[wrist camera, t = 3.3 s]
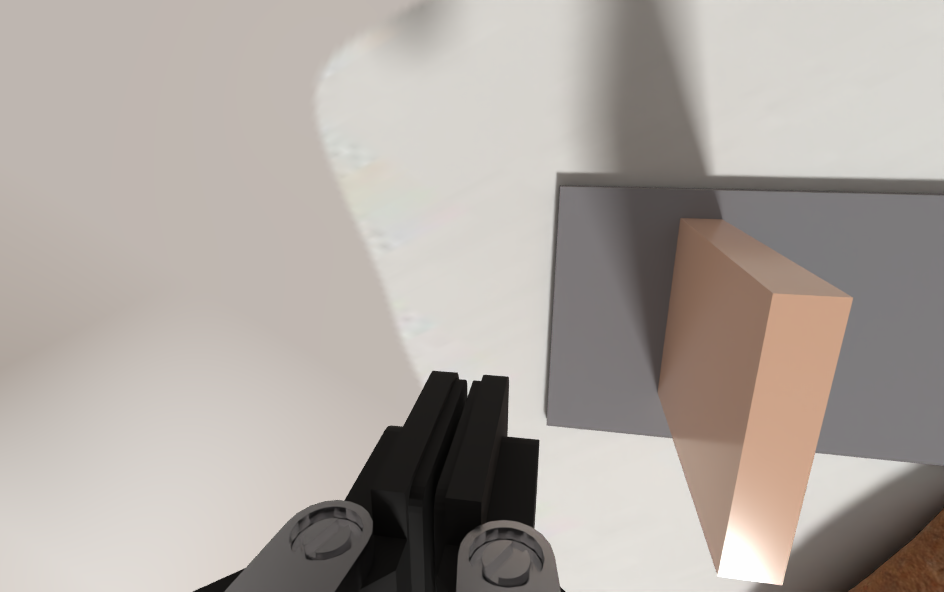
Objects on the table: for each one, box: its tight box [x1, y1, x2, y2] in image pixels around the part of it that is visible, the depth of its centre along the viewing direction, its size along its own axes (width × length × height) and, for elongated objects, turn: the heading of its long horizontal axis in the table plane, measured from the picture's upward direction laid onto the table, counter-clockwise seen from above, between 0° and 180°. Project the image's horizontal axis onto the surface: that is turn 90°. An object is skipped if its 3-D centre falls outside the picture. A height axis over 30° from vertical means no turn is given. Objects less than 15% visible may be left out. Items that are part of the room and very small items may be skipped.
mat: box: [547, 185, 944, 466], centre depth 19 cm, size 17×10×1 cm, turn 90°
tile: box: [658, 218, 853, 585], centre depth 15 cm, size 2×7×9 cm, turn 0°
